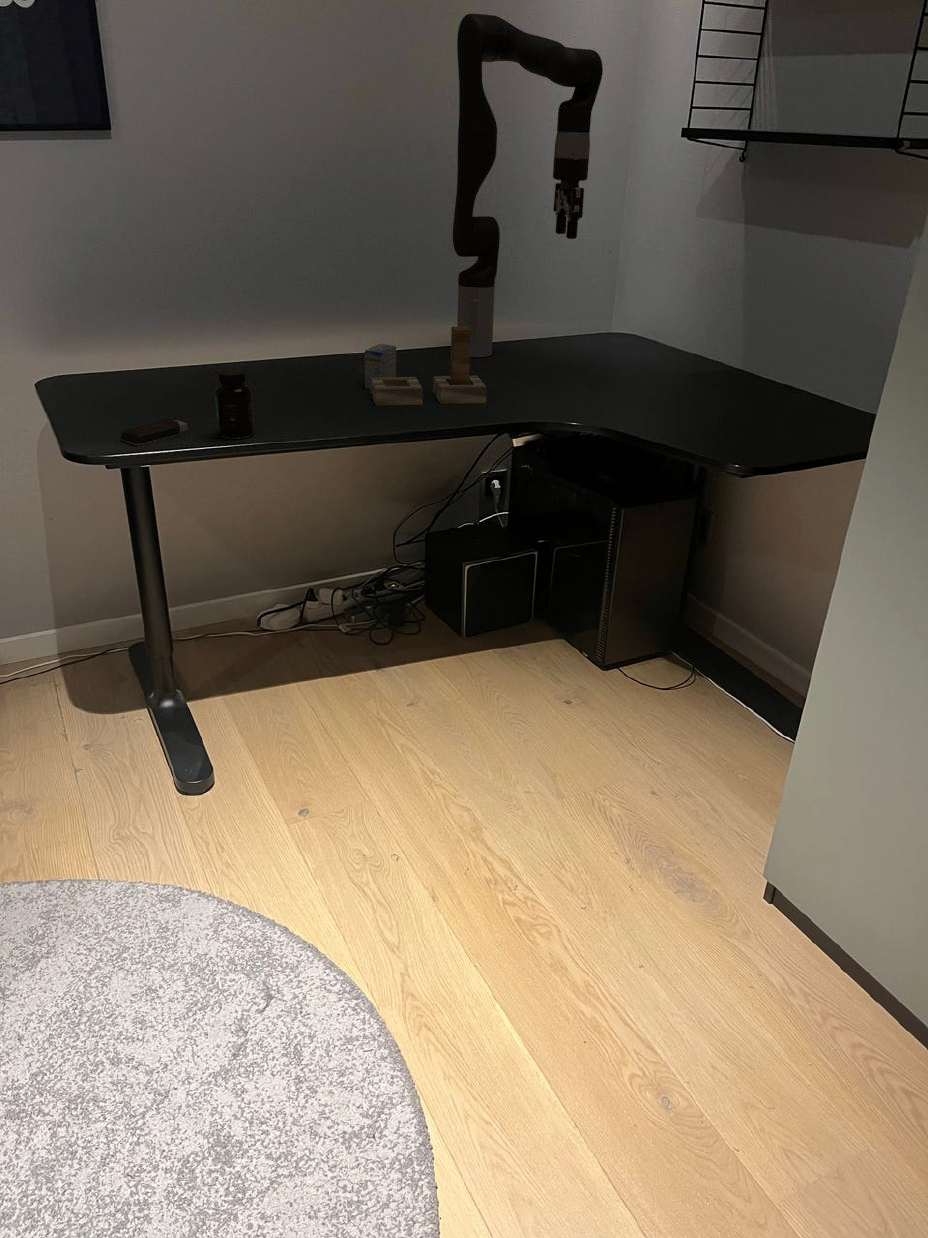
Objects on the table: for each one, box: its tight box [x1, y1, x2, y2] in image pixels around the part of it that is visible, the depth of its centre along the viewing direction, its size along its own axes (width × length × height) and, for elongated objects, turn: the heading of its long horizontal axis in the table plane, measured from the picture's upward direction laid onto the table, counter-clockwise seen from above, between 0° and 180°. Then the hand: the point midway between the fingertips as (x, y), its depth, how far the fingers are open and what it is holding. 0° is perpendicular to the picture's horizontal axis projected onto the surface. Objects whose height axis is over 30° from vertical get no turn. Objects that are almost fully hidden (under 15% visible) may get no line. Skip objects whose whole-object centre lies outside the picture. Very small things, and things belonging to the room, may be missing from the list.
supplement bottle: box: [214, 368, 256, 438], centre depth 185 cm, size 7×7×12 cm
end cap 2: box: [432, 375, 488, 405], centre depth 215 cm, size 10×10×4 cm
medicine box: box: [364, 343, 397, 390], centre depth 221 cm, size 8×4×9 cm, turn 160°
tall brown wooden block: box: [449, 326, 471, 385], centre depth 212 cm, size 4×4×14 cm
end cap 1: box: [370, 376, 424, 407], centre depth 212 cm, size 10×10×4 cm
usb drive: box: [120, 418, 189, 444], centre depth 185 cm, size 5×12×3 cm, turn 142°
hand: (565, 235), depth 217 cm, fingers open, 8 cm apart
